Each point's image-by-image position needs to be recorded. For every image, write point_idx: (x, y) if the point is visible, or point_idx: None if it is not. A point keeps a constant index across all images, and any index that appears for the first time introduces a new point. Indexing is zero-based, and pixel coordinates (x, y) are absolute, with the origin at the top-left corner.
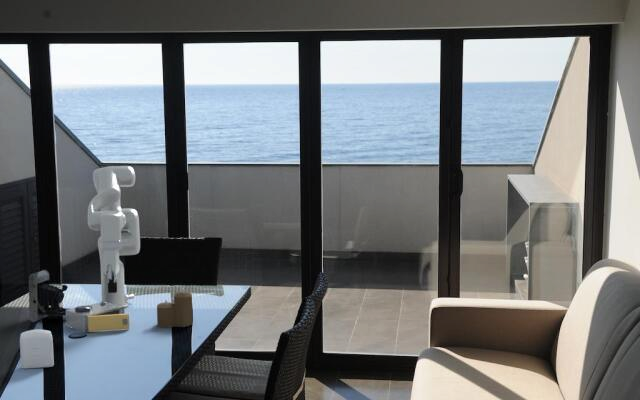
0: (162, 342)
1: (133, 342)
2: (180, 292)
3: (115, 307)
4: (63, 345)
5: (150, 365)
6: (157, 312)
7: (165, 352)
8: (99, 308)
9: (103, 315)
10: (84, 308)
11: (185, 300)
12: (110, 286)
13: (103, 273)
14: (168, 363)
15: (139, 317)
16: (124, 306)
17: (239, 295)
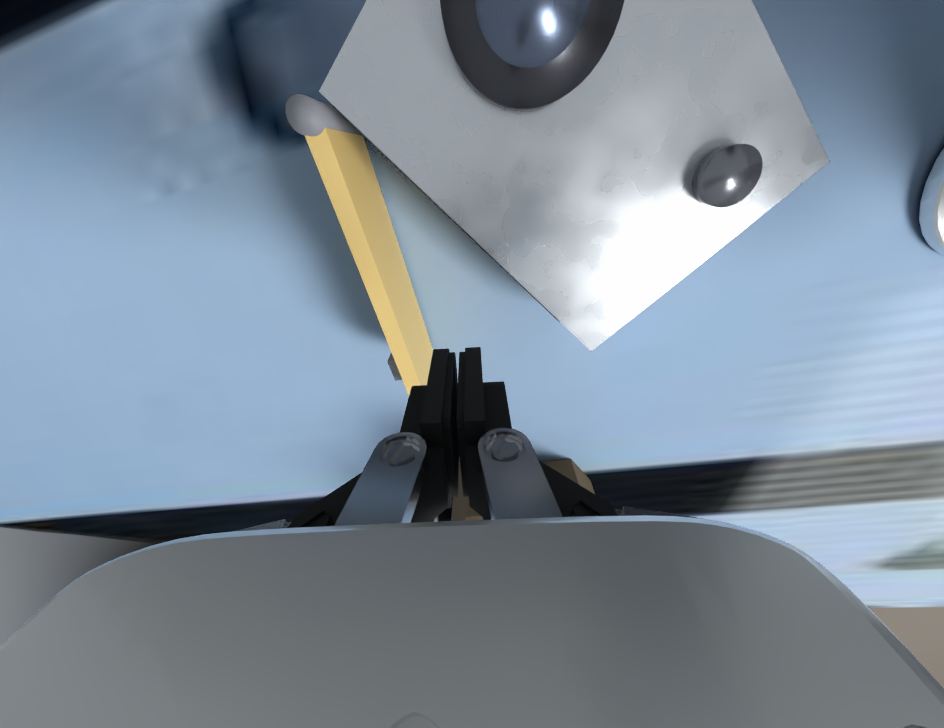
0: (272, 478)
1: (242, 399)
2: None
3: (573, 300)
4: (30, 27)
5: (28, 476)
6: (465, 497)
7: (171, 495)
8: (566, 175)
9: (365, 258)
10: (479, 21)
11: None
12: (405, 422)
13: (16, 635)
14: (77, 510)
15: (652, 360)
16: (937, 247)
17: None
